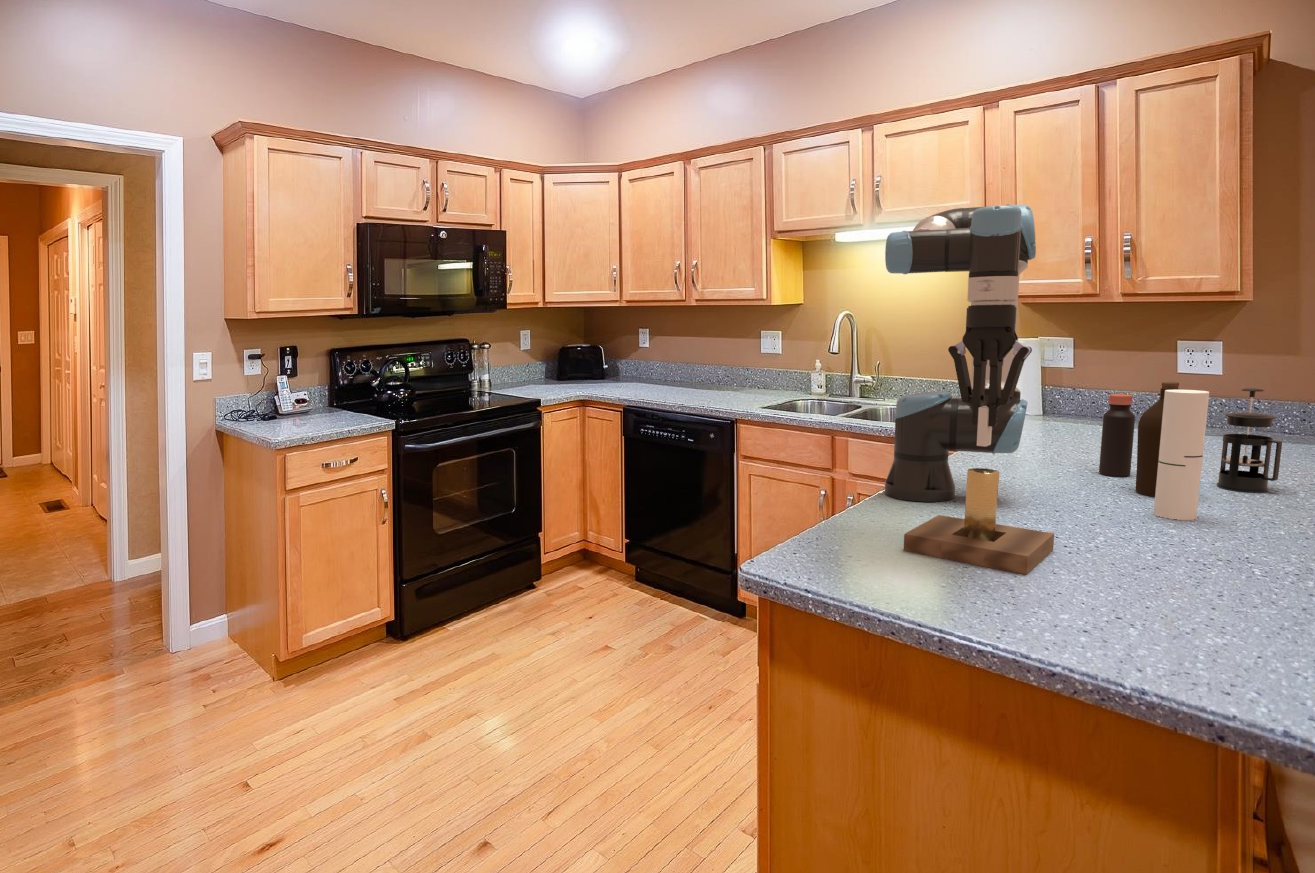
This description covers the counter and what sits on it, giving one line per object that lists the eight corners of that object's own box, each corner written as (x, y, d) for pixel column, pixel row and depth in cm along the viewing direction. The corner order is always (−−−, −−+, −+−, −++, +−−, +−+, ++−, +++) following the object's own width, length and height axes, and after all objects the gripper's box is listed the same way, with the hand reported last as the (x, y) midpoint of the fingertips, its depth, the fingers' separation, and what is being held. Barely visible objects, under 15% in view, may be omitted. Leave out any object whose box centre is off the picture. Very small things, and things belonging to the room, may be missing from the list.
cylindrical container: (1203, 521, 147) (1216, 393, 143) (1163, 519, 149) (1175, 393, 145) (1186, 511, 154) (1198, 389, 150) (1147, 510, 156) (1158, 389, 152)
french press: (1204, 485, 177) (1214, 387, 173) (1227, 481, 181) (1237, 385, 177) (1263, 496, 166) (1275, 392, 163) (1285, 491, 170) (1297, 389, 167)
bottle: (1119, 478, 186) (1126, 397, 183) (1092, 473, 192) (1099, 395, 188) (1136, 475, 189) (1143, 395, 186) (1109, 470, 195) (1115, 393, 192)
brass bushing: (958, 550, 131) (963, 470, 129) (967, 544, 135) (973, 466, 133) (988, 556, 128) (994, 474, 126) (997, 549, 132) (1003, 470, 130)
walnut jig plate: (903, 550, 132) (904, 533, 131) (937, 530, 144) (938, 514, 143) (1026, 574, 119) (1027, 556, 118) (1053, 550, 131) (1054, 533, 130)
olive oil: (1160, 500, 164) (1171, 385, 160) (1120, 489, 174) (1130, 381, 170) (1201, 497, 166) (1212, 383, 162) (1159, 487, 176) (1169, 379, 172)
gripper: (943, 304, 126) (937, 444, 130) (1027, 302, 118) (1018, 452, 121) (959, 305, 132) (952, 438, 135) (1040, 303, 123) (1031, 445, 127)
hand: (983, 444), depth 128 cm, fingers closed
